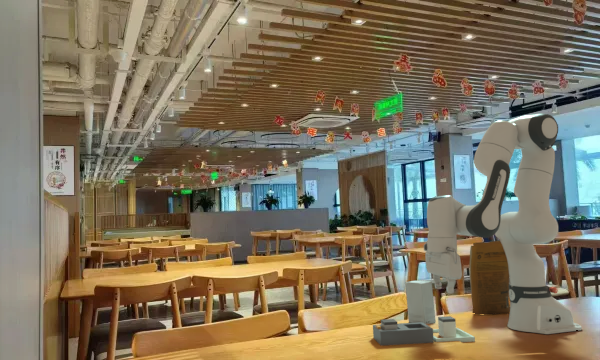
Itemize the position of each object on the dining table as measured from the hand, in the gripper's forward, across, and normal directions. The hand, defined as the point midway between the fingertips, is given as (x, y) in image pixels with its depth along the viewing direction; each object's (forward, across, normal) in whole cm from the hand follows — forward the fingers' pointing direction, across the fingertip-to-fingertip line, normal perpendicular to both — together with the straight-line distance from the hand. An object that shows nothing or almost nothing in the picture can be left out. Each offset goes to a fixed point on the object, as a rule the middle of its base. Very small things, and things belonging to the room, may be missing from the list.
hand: (444, 290), depth 149 cm
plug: (+14, 0, -1) cm, 14 cm away
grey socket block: (+15, -2, +14) cm, 21 cm away
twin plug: (+14, -2, +18) cm, 23 cm away
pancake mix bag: (+14, +33, -33) cm, 49 cm away
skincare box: (+15, +24, -1) cm, 28 cm away
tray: (+15, 0, -1) cm, 15 cm away
